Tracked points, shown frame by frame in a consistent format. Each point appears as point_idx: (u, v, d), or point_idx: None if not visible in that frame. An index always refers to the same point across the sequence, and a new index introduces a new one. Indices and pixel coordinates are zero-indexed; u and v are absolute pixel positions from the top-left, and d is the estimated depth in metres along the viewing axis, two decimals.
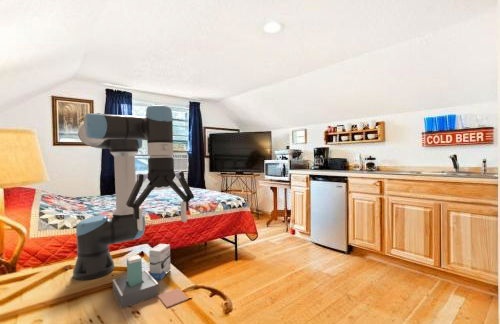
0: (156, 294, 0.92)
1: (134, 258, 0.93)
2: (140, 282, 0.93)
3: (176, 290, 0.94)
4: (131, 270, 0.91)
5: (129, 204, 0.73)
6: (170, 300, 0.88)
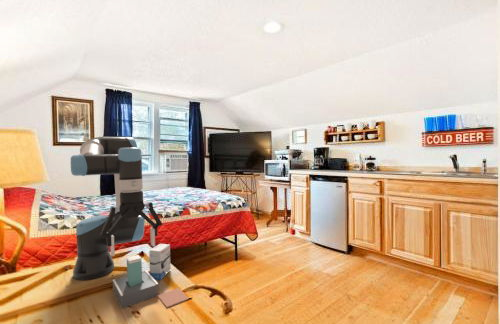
0: (156, 294, 0.92)
1: (134, 258, 0.93)
2: (140, 282, 0.93)
3: (176, 290, 0.94)
4: (131, 270, 0.91)
5: (102, 234, 0.86)
6: (170, 300, 0.88)
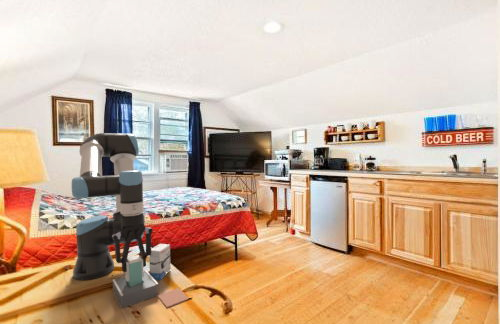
0: (156, 294, 0.92)
1: (134, 258, 0.93)
2: (140, 282, 0.93)
3: (176, 290, 0.94)
4: (131, 270, 0.91)
5: (118, 261, 0.89)
6: (170, 300, 0.88)
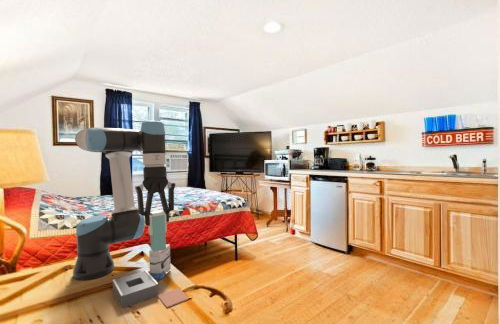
0: (156, 294, 0.92)
1: (157, 212, 0.90)
2: (163, 237, 0.89)
3: (176, 290, 0.94)
4: (154, 223, 0.88)
5: (141, 213, 0.86)
6: (170, 300, 0.88)
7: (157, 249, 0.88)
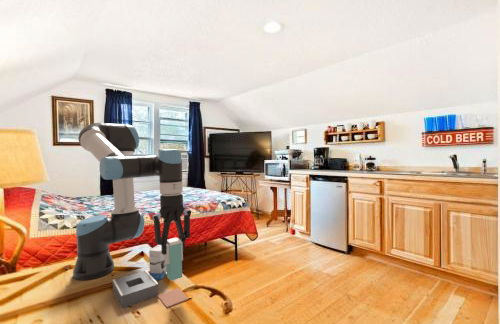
0: (156, 294, 0.92)
1: (173, 240, 0.89)
2: (180, 265, 0.89)
3: (176, 290, 0.94)
4: (171, 252, 0.87)
5: (158, 243, 0.85)
6: (170, 300, 0.88)
7: (174, 278, 0.88)
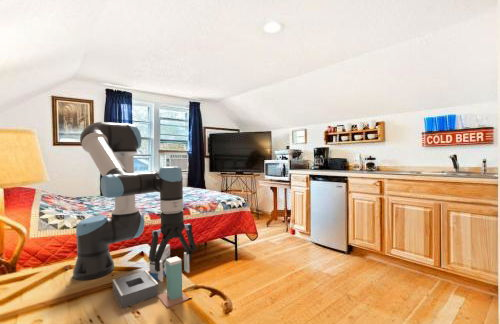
0: (156, 294, 0.92)
1: (174, 259, 0.90)
2: (180, 285, 0.90)
3: None
4: (172, 272, 0.88)
5: (151, 260, 0.84)
6: (170, 300, 0.88)
7: (174, 297, 0.88)
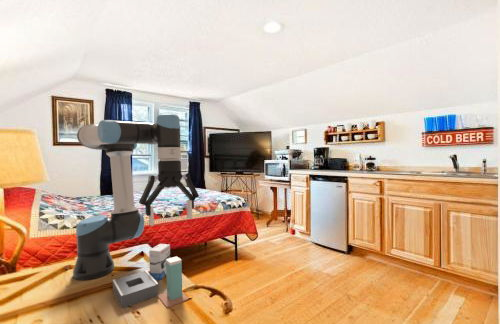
0: (156, 294, 0.92)
1: (174, 259, 0.90)
2: (180, 285, 0.90)
3: None
4: (172, 272, 0.88)
5: (142, 202, 0.82)
6: (170, 300, 0.88)
7: (174, 297, 0.88)
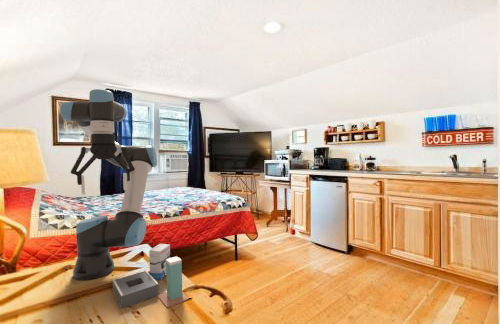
0: (156, 294, 0.92)
1: (174, 259, 0.90)
2: (180, 285, 0.90)
3: None
4: (172, 272, 0.88)
5: (72, 171, 0.87)
6: (170, 300, 0.88)
7: (174, 297, 0.88)
